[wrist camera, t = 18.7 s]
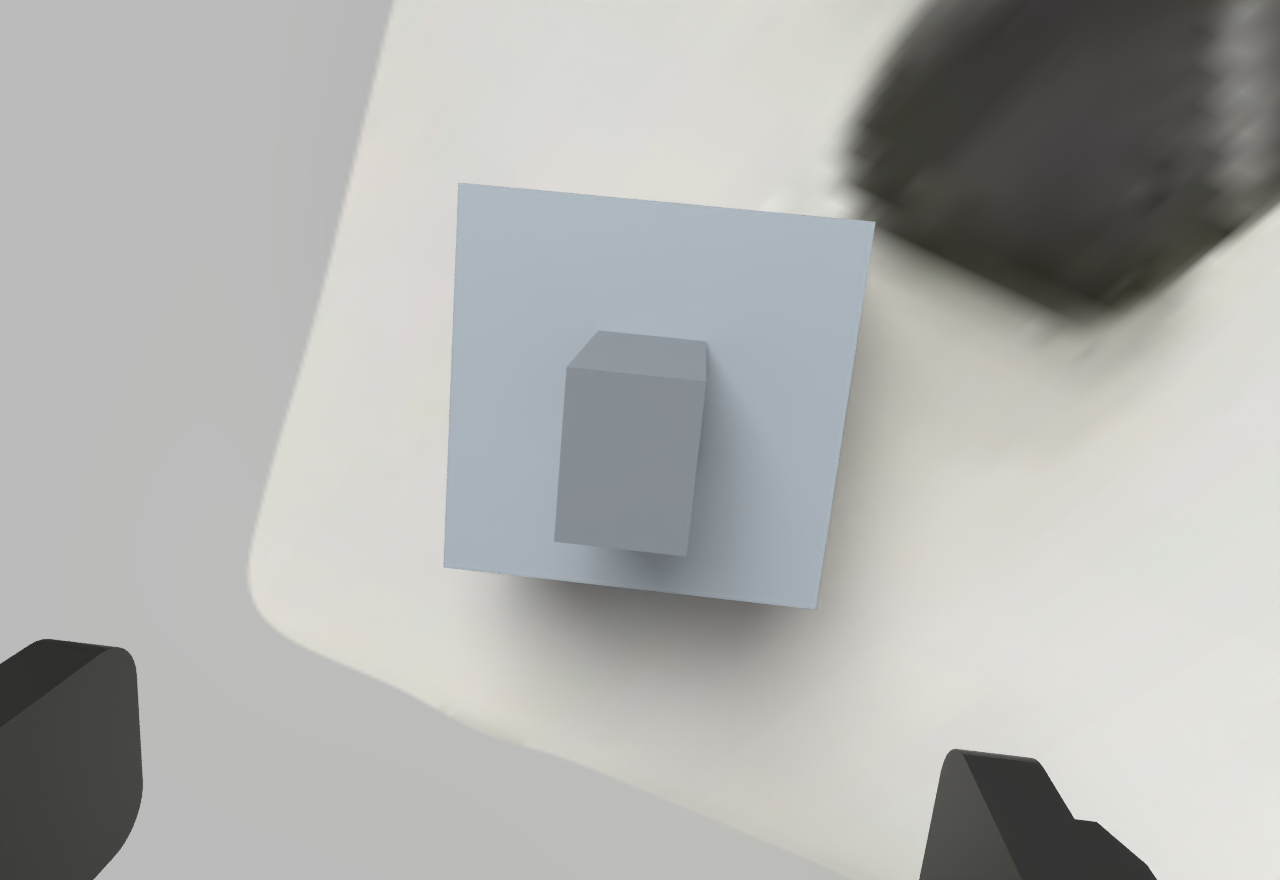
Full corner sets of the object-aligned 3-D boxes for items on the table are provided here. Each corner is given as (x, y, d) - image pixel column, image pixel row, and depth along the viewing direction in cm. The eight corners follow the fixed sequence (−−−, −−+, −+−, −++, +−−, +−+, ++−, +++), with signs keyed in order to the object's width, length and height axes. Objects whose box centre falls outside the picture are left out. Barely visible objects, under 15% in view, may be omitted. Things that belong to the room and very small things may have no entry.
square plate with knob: (830, 218, 32) (930, 226, 18) (789, 512, 35) (846, 720, 21) (522, 189, 33) (381, 174, 19) (505, 481, 36) (372, 664, 21)
